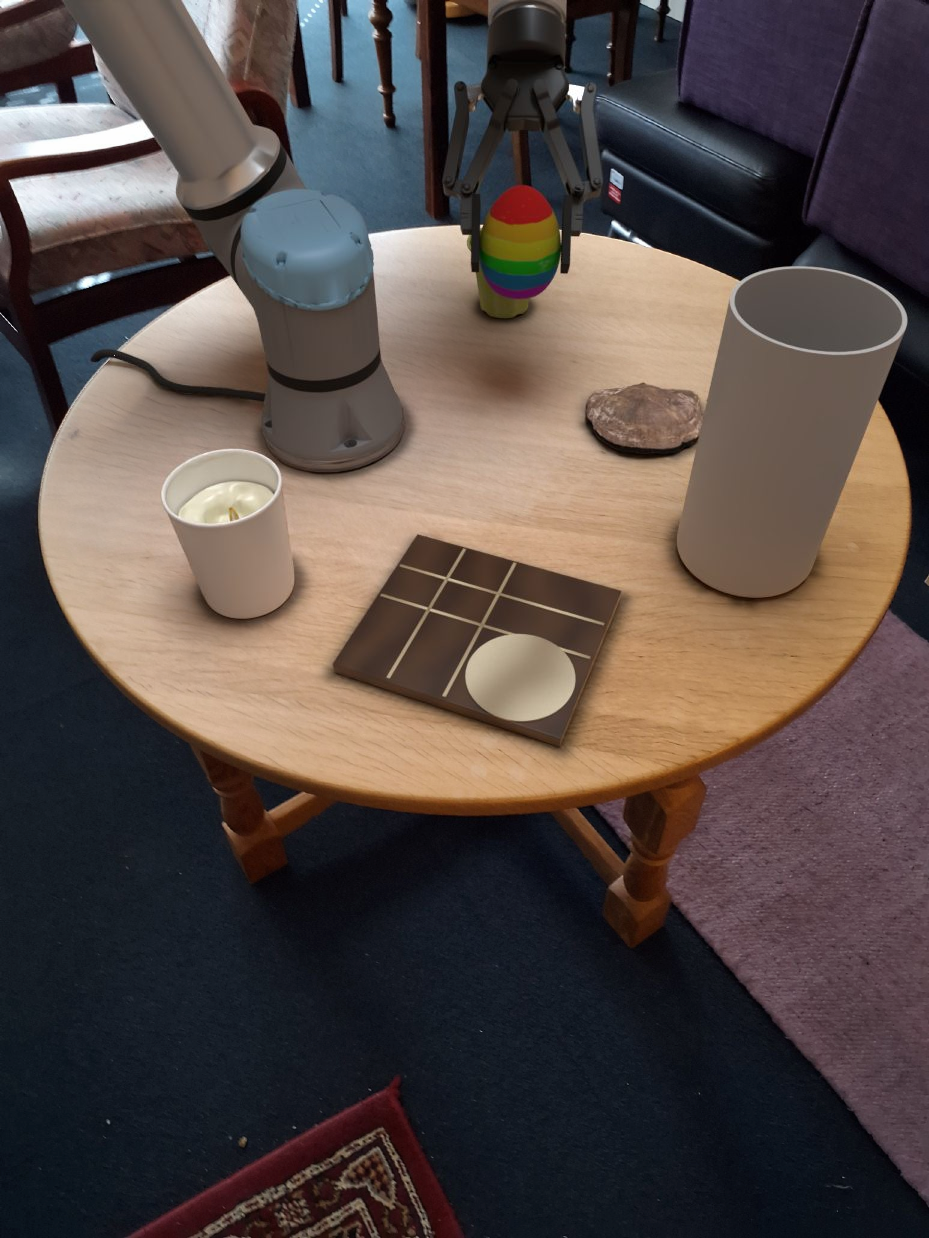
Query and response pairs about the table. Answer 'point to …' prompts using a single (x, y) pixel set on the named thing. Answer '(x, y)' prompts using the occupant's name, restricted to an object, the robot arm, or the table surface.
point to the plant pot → (496, 297)
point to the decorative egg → (520, 244)
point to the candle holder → (233, 530)
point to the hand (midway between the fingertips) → (519, 268)
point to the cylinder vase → (784, 424)
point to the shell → (645, 418)
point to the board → (482, 637)
